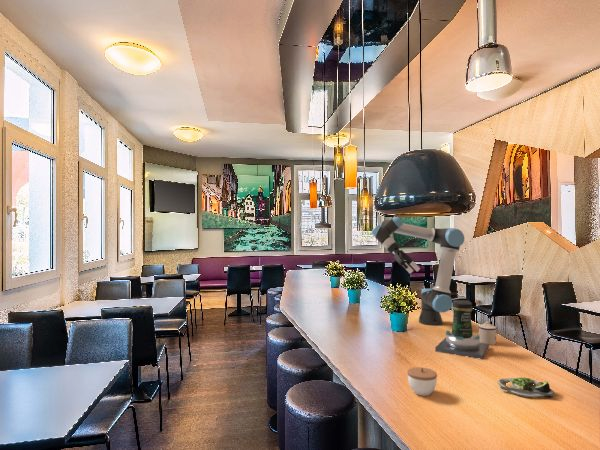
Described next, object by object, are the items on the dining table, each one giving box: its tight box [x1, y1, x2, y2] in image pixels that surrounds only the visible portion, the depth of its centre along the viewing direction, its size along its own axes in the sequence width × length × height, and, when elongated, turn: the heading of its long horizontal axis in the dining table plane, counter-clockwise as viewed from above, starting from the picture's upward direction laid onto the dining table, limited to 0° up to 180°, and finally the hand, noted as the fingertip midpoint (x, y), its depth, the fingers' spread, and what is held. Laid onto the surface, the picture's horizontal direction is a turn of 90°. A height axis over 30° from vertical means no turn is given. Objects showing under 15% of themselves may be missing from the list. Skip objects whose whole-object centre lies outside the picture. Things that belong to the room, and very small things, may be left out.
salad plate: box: [497, 376, 557, 398], centre depth 146 cm, size 19×18×5 cm
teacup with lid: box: [477, 321, 497, 346], centre depth 210 cm, size 12×9×12 cm
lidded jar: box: [407, 366, 438, 397], centre depth 143 cm, size 11×11×9 cm
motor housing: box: [434, 330, 490, 360], centre depth 196 cm, size 22×22×8 cm
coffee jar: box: [451, 299, 473, 337], centre depth 197 cm, size 10×8×19 cm
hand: (415, 271), depth 227 cm, fingers open, 13 cm apart
